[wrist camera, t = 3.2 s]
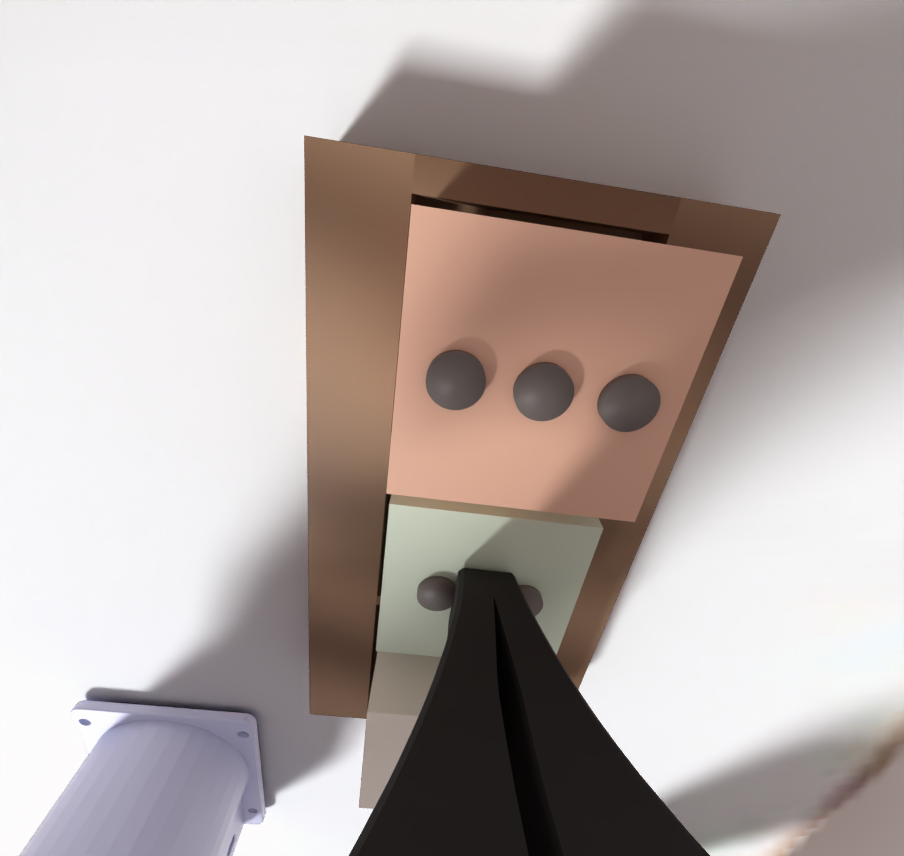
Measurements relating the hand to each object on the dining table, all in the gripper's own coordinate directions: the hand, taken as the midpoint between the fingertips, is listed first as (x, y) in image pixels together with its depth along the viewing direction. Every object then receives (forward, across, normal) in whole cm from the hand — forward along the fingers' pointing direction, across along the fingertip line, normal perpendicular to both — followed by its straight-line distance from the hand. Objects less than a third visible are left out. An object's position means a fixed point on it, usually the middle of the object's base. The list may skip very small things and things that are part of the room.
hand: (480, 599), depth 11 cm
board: (+4, 0, 0) cm, 4 cm away
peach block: (+2, 0, -6) cm, 6 cm away
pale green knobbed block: (+3, 0, 0) cm, 3 cm away
